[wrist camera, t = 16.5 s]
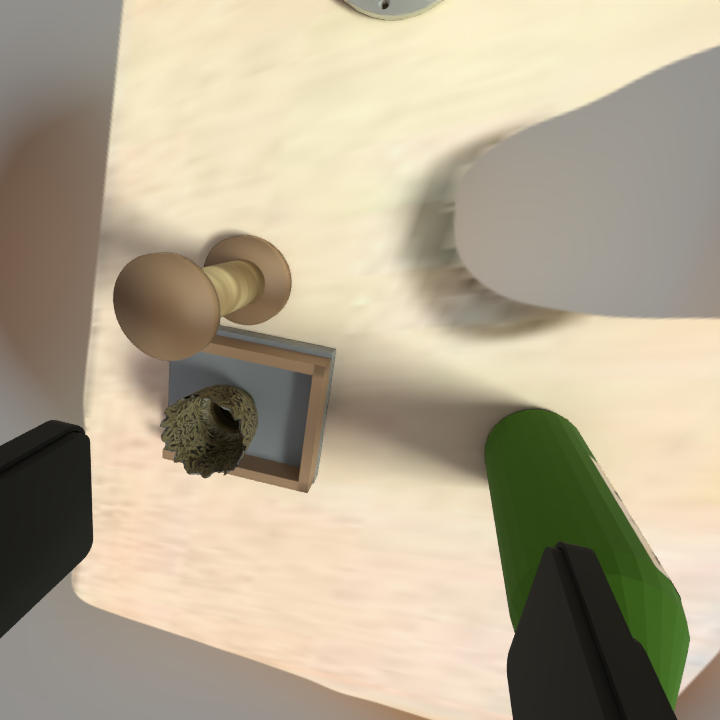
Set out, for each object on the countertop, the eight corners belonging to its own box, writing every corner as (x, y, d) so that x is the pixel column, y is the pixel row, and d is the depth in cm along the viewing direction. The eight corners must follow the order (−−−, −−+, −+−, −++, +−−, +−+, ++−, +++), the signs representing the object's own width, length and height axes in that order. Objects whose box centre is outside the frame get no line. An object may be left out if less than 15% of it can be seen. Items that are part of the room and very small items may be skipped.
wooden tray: (179, 317, 46) (155, 326, 43) (335, 349, 45) (325, 361, 41) (174, 442, 51) (153, 460, 47) (317, 475, 49) (306, 497, 45)
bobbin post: (212, 228, 43) (105, 235, 30) (296, 243, 42) (224, 257, 29) (208, 313, 46) (107, 354, 32) (286, 328, 45) (217, 379, 31)
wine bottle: (597, 476, 44) (951, 1085, 13) (504, 504, 46) (618, 1070, 16) (564, 393, 42) (883, 872, 11) (469, 426, 45) (521, 893, 14)
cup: (215, 439, 48) (172, 481, 41) (197, 371, 46) (148, 402, 39) (283, 434, 46) (251, 477, 39) (267, 363, 45) (231, 394, 37)
